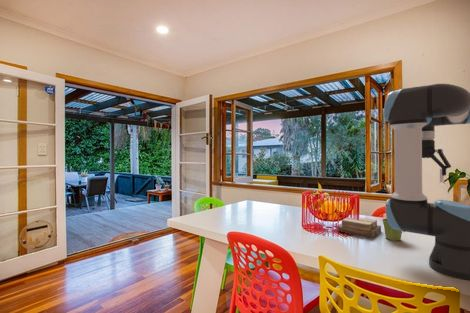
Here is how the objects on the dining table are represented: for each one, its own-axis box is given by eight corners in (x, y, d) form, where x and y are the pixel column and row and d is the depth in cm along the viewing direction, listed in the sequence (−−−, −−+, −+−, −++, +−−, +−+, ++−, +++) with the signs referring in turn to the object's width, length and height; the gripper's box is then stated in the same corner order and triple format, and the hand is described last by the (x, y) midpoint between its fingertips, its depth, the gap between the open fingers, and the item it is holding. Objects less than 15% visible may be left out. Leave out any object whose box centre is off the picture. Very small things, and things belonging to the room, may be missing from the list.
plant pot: (404, 237, 123) (404, 219, 123) (405, 243, 114) (405, 224, 114) (381, 234, 127) (381, 217, 127) (381, 240, 119) (381, 221, 119)
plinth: (371, 238, 121) (371, 226, 121) (337, 231, 132) (337, 220, 132) (381, 231, 133) (381, 220, 133) (349, 225, 144) (349, 215, 144)
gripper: (459, 138, 123) (459, 182, 122) (401, 141, 143) (401, 179, 143) (453, 138, 118) (453, 183, 118) (395, 140, 139) (395, 179, 139)
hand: (425, 181), depth 131 cm, fingers open, 13 cm apart
